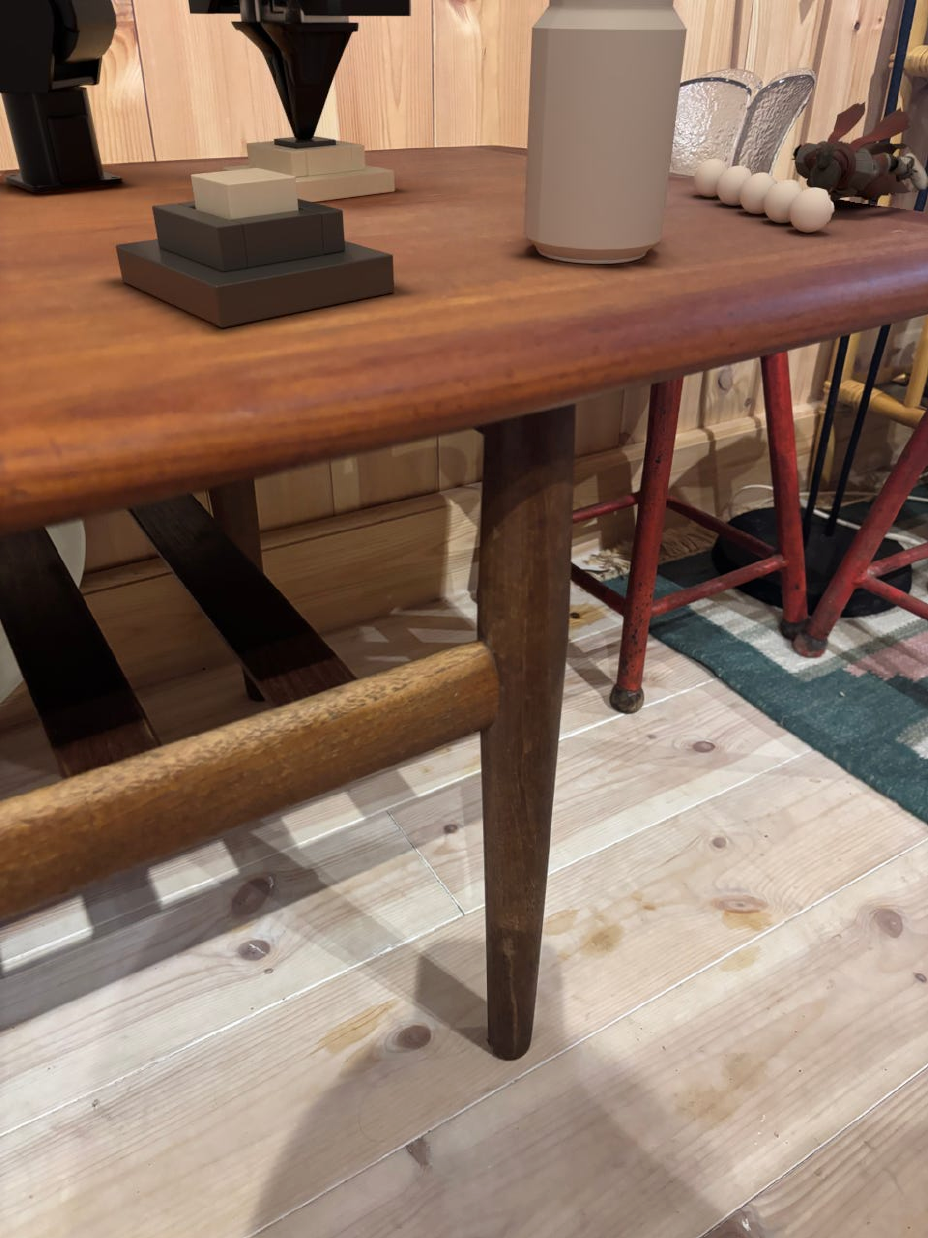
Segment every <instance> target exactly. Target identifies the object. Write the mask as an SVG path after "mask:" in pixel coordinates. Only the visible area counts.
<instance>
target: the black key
mask: <svg viewBox="0 0 928 1238" xmlns="http://www.w3.org/2000/svg"><path fill="white" fill-rule="evenodd" d="M273 141H274V145H278V146H283V147H289V148H294V149H300V148H311V147H322V146H332V145H336V139H334V138H328V137H322V136H317V135H314V137H313V138H312V139H308V140H300V139H296V138H295V137H294V136H292V137H291V136H290V137H278V138H273Z"/></svg>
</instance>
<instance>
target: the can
mask: <svg viewBox="0 0 928 1238" xmlns="http://www.w3.org/2000/svg"><path fill="white" fill-rule="evenodd" d="M674 1H675V0H548V6H547V7H546V9H545V10H544V11H543V13H542V14H541V15H540V17H539V18H538V19H537V20H536V22H535V23H534V24H533V26H532V27H531V40H530V41H531V44H530V67H529V89H528V91H529V93H528V117H527V141H526V142H527V143H526V166H525V167H526V168H525V190H524V191H525V192H524V214H523V217H524V218H523V235H524V236H525V237H526V238H527V239H528V241H530V242H531V243H532V244H533V245H534V247H535V248H536V251H537V252H538V253H539V255H541V256H544V257H546V258H549V259H551V260H556V261H561V262H568V263H575V264H588V265H589V264H590V265H591V264H593V265H605V264H607V265H608V264H622V263H629V262H633V261H636V260H640V259H642V258H643V257H645V256H646V255H647V254H646V253H647V252H648V251H650V250H651V249H652V248H653V247H654V246H656V245H657V244H658V243H659V242H660V241H661V240H662V236H663V228H664V220H665V211H666V206H667V205H666V204H667V196H668V188H669V179H670V171H671V164H672V154H673V146H674V139H675V130H676V122H677V116H678V115H677V114H678V107H679V99H680V98H679V97H680V89H681V80H682V72H683V65H684V56H685V47H686V41H687V40H686V39H687V33H688V29H687V27H686V25H685V24H684V22H683V20H682V19H681V17H680V16H679V14H678V12H677V10H676V9H675V7H674Z"/></svg>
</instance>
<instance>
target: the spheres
mask: <svg viewBox="0 0 928 1238" xmlns="http://www.w3.org/2000/svg"><path fill="white" fill-rule="evenodd" d="M693 185H694V187H695V190H696V192H698V193H699V194H700V195H701V196H703V197H705V198H713V197H716V196H717V197H718V198H719V200H720V201H721V202H722V203H723V204H725V205H727V206H733V207H734V206H739V205H741V206H742V208H743V209H744V210H745V211H746V212H748V213H750V214H753V215H760V214H764V213H765V215H766V216H767V218H768V219H770V220H771V221H773V222H775V223H778V224H785V223H789V222H790V223H791V225H792V226H793V228H795V229H796V230H798V231H800V232H802V233H814V232H817V231H819V230H821V229H822V228H824V227H825V226H826V225H827V224H828V223H829V222H830V221H831V219H832V216H833V213H834V212H835V205H834V202H833V200H832V199H831V197H830V195H828V192H827V190H824V189H821V188H811V187H807V188H806V189H803V188H802V187H801V184H800V182H799V181H797V180H795V179H783V180H779V181H778V182H777V181H776V179H775V178H774V177H773V176H772V175H771V174H769V173H768V172H765V171H764V172H763V171H762V172H756V173H752V172H751V170H750V169H749V168H747V167H746V166H744V165H733V166H730V167H728V166H727V163H725V161H723V160H721V159H719V158H709V159H707V160H704V161H703V162H702V163H700V165H699V166H698V167H697V168H696V170H695V173H694V176H693Z"/></svg>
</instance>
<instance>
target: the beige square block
mask: <svg viewBox="0 0 928 1238" xmlns="http://www.w3.org/2000/svg"><path fill="white" fill-rule="evenodd" d="M190 178H191V184H192V185H191V186H192V191H193V199H194V201H195V206H196V210H199V211H202V212H205V213H209V214H212V215H215V216H218V217H222V218H225V219H228V220H231V219H237V218H245V217H252V216H259V215H267V214H274V213H281V212H289V211H296V210H298V200H297V189H296V178H295V176H291V175H286V174H282V173H277V172H273V171H269V170H264V169H260V168H250V169H240V170H231V171H222V170H221V171H213V172H202V173H195V174H194V173H193V174H191V175H190Z"/></svg>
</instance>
